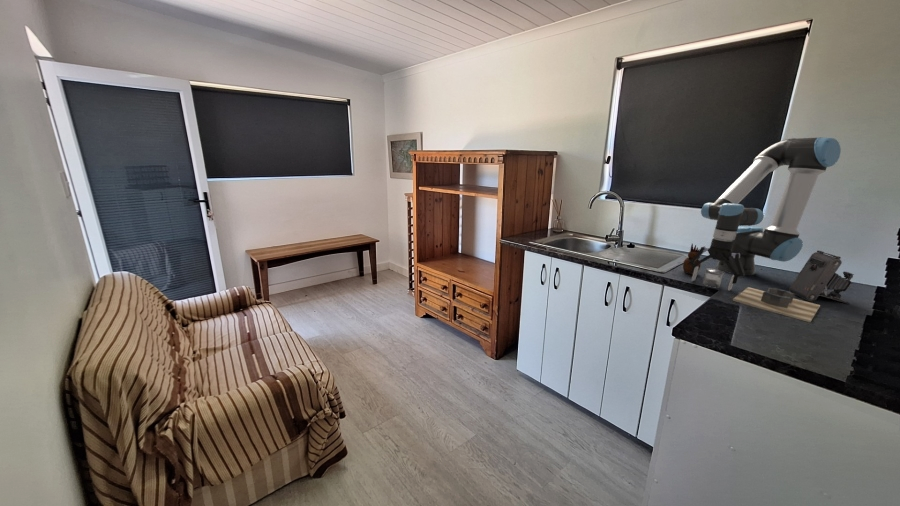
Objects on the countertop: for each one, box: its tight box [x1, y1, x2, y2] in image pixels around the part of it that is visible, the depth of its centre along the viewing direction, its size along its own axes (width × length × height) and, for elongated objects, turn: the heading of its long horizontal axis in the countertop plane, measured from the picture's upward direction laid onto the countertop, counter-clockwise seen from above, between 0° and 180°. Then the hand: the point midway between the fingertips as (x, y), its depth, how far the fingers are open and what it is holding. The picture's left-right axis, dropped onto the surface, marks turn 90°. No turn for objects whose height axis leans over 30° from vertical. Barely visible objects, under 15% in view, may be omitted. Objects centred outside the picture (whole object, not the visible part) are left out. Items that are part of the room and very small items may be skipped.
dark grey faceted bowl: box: [761, 286, 796, 308], centre depth 131 cm, size 11×8×4 cm
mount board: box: [732, 286, 821, 323], centre depth 132 cm, size 22×22×1 cm
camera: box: [788, 250, 855, 305], centre depth 137 cm, size 11×17×20 cm, turn 79°
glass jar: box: [702, 267, 725, 289], centre depth 149 cm, size 6×6×7 cm
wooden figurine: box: [682, 243, 702, 275], centre depth 163 cm, size 7×6×15 cm
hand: (710, 284), depth 150 cm, fingers open, 13 cm apart
